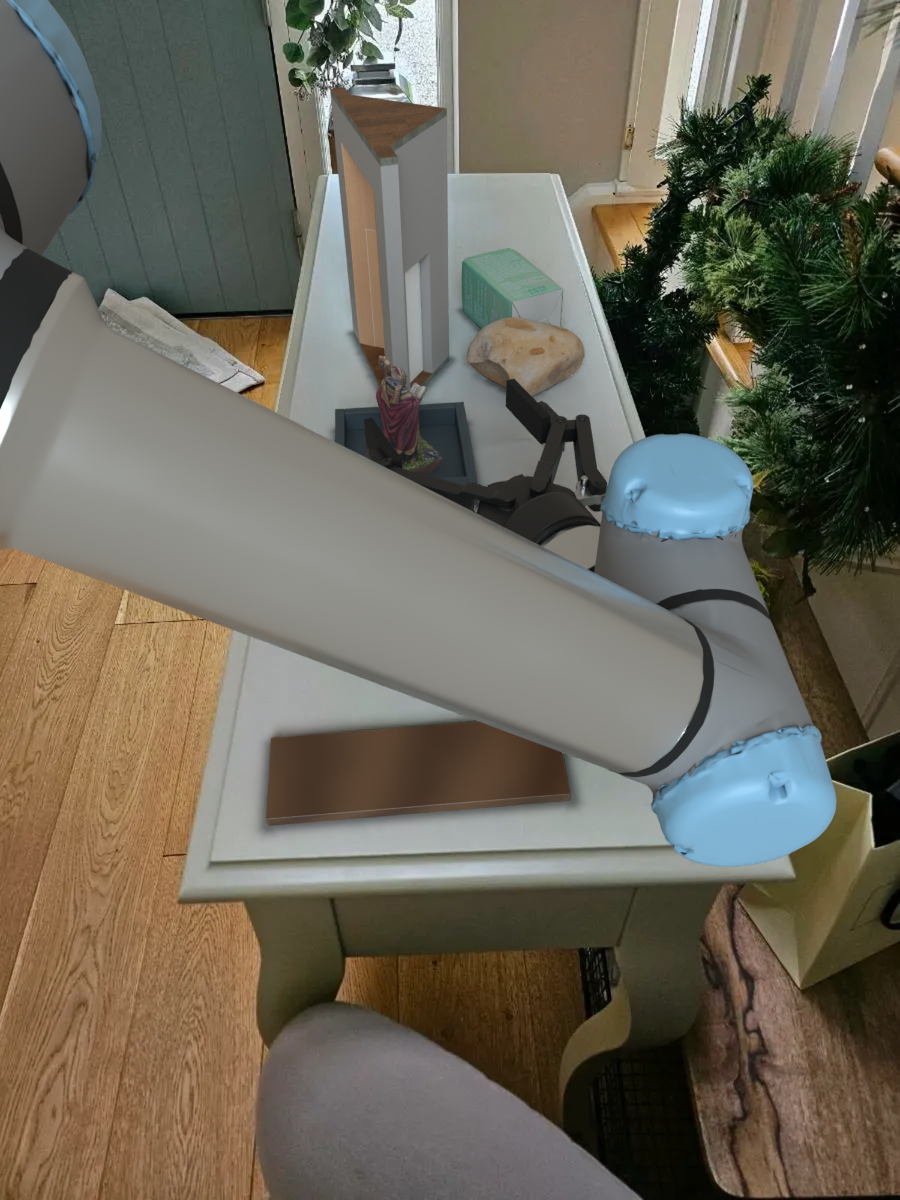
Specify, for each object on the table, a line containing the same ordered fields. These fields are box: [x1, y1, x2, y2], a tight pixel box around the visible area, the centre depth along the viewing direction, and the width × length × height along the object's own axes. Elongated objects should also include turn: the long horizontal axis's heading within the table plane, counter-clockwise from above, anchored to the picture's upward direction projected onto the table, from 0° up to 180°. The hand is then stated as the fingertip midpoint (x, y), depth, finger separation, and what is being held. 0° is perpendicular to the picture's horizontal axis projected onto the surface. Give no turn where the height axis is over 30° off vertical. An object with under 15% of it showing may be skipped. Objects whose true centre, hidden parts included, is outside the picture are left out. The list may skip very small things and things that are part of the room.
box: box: [461, 247, 564, 330], centre depth 108 cm, size 7×14×8 cm, turn 26°
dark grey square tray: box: [334, 401, 479, 506], centre depth 89 cm, size 14×14×3 cm
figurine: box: [364, 356, 443, 475], centre depth 85 cm, size 6×6×12 cm
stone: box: [466, 317, 586, 398], centre depth 100 cm, size 14×11×8 cm
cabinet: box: [329, 86, 450, 390], centre depth 94 cm, size 21×10×28 cm, turn 18°
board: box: [265, 721, 572, 827], centre depth 64 cm, size 22×7×1 cm, turn 95°
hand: (441, 411), depth 75 cm, fingers open, 13 cm apart
